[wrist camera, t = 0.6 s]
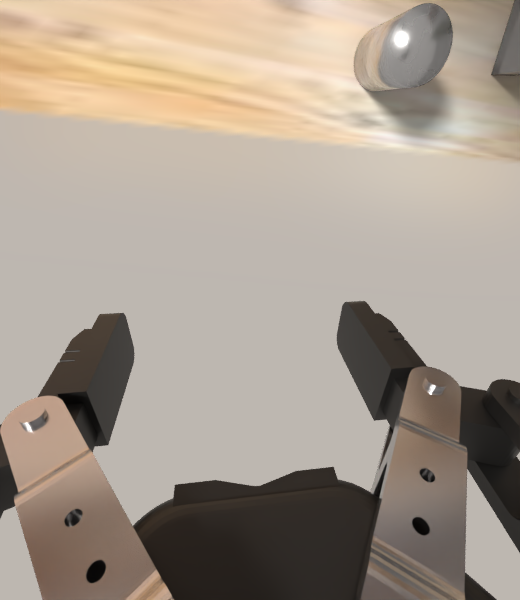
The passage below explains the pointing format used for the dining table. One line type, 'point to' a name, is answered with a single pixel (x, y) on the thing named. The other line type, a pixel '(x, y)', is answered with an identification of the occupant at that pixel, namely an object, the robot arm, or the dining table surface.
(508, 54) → the tote
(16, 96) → the dining table surface
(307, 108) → the dining table surface
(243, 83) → the dining table surface
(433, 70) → the steel cylinder
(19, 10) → the dining table surface
